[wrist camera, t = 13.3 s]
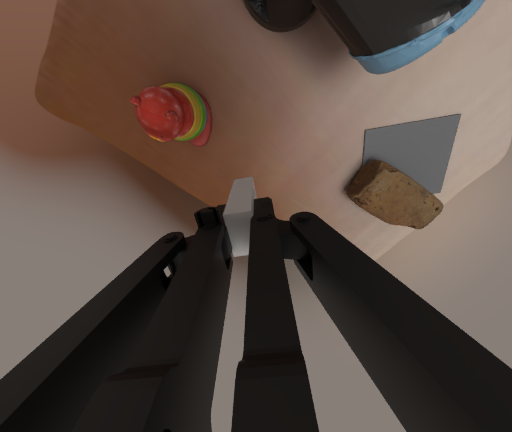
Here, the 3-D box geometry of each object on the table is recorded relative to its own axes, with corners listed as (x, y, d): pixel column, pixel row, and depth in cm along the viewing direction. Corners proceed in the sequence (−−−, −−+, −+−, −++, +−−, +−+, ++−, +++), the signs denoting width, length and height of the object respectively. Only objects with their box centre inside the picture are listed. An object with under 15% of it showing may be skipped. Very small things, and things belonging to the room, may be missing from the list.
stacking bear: (158, 125, 43) (102, 129, 27) (173, 76, 40) (118, 47, 24) (204, 149, 46) (177, 166, 30) (222, 106, 42) (203, 98, 26)
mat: (364, 130, 44) (365, 130, 44) (459, 114, 43) (461, 113, 42) (359, 203, 52) (360, 204, 52) (439, 192, 51) (440, 192, 50)
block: (391, 160, 39) (452, 205, 44) (370, 154, 46) (425, 194, 51) (353, 204, 43) (414, 241, 48) (339, 192, 50) (393, 226, 55)
